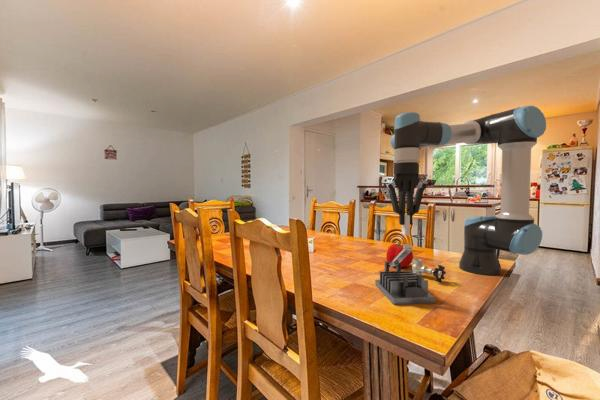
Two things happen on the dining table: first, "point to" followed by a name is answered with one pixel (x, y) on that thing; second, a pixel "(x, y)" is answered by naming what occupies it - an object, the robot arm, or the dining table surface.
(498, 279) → the dining table surface
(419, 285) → the heatsink
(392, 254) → the tomato
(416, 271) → the valve
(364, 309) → the dining table surface
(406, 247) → the grey long bar
